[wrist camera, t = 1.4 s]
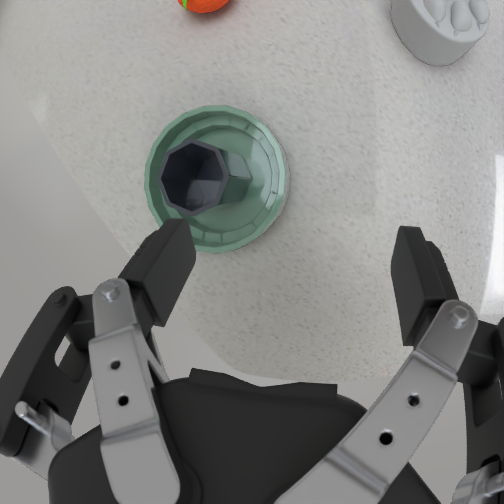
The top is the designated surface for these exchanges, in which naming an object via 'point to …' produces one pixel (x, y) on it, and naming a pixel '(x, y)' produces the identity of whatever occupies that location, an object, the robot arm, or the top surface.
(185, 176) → the cup
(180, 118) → the bowl
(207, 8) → the clementine
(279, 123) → the top surface
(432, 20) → the lumpy-topped squat cylinder
